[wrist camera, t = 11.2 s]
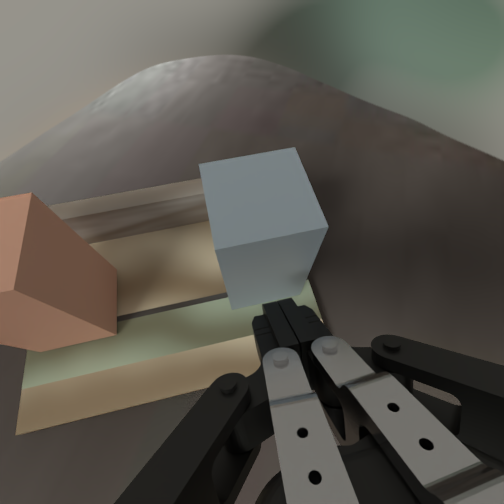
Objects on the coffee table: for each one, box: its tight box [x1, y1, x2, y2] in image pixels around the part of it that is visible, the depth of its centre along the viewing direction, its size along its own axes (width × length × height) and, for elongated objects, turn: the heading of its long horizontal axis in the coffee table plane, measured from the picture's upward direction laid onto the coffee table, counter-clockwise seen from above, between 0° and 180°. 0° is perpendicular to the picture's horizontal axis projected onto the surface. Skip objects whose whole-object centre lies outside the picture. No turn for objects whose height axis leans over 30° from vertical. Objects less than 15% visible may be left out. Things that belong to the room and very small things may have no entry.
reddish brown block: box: [0, 193, 117, 352], centre depth 16 cm, size 5×5×9 cm
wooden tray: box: [15, 178, 323, 435], centre depth 19 cm, size 14×20×4 cm
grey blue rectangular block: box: [199, 147, 329, 310], centre depth 17 cm, size 5×5×9 cm
